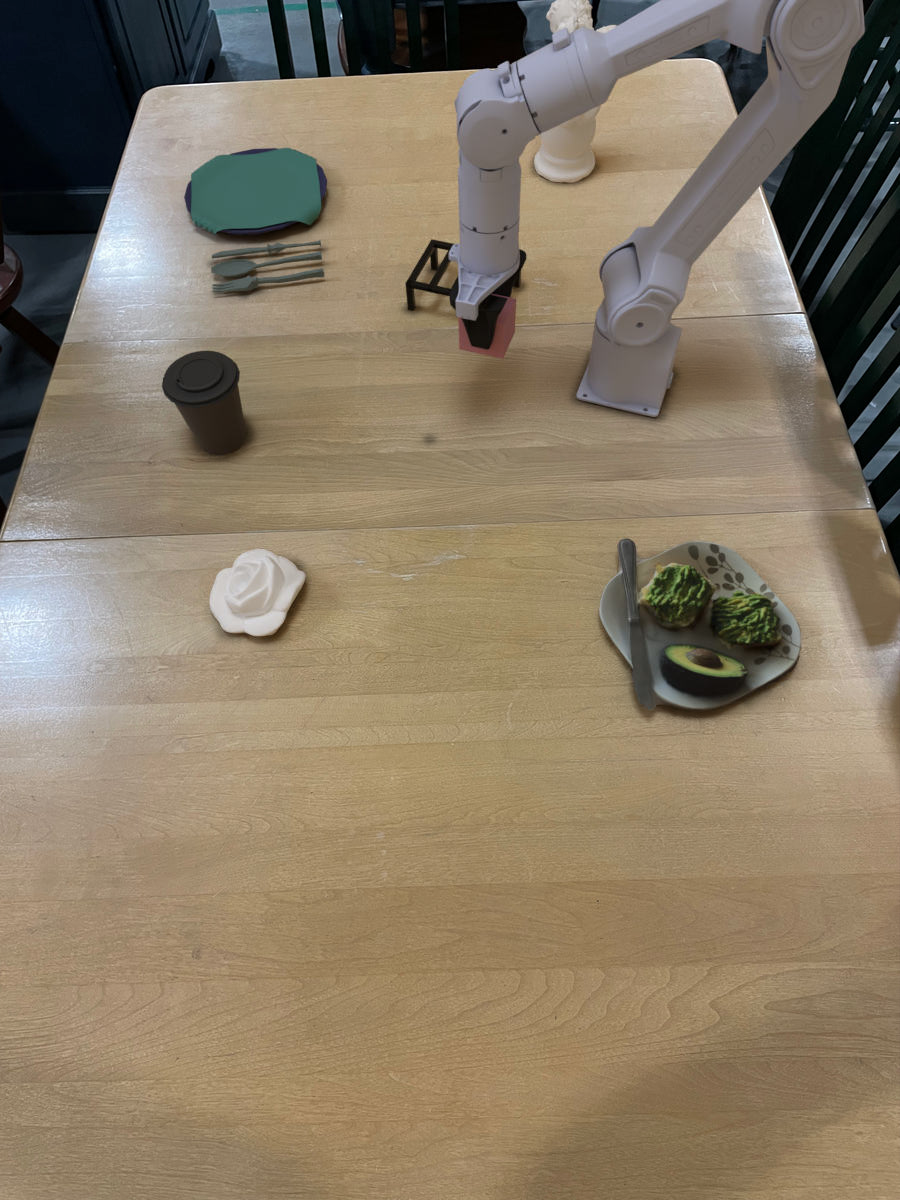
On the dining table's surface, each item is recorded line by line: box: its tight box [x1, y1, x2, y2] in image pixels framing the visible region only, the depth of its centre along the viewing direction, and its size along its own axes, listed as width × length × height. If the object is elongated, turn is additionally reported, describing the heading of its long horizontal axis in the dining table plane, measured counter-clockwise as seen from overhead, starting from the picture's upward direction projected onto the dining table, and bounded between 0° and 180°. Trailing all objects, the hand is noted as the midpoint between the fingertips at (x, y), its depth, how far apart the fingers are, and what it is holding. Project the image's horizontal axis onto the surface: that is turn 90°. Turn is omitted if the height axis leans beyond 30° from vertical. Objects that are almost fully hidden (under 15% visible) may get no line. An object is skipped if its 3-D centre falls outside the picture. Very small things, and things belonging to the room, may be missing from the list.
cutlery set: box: [183, 147, 328, 294], centre depth 116 cm, size 20×30×2 cm, turn 9°
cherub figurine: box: [533, 0, 618, 184], centre depth 112 cm, size 12×12×22 cm
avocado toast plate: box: [598, 538, 802, 713], centre depth 79 cm, size 19×18×5 cm
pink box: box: [457, 294, 517, 359], centre depth 91 cm, size 5×4×4 cm
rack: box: [405, 238, 522, 312], centre depth 105 cm, size 12×9×4 cm
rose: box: [208, 548, 307, 637], centre depth 82 cm, size 10×4×10 cm
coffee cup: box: [161, 350, 247, 456], centre depth 92 cm, size 8×8×10 cm
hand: (488, 330), depth 91 cm, fingers closed on pink box, 4 cm apart
